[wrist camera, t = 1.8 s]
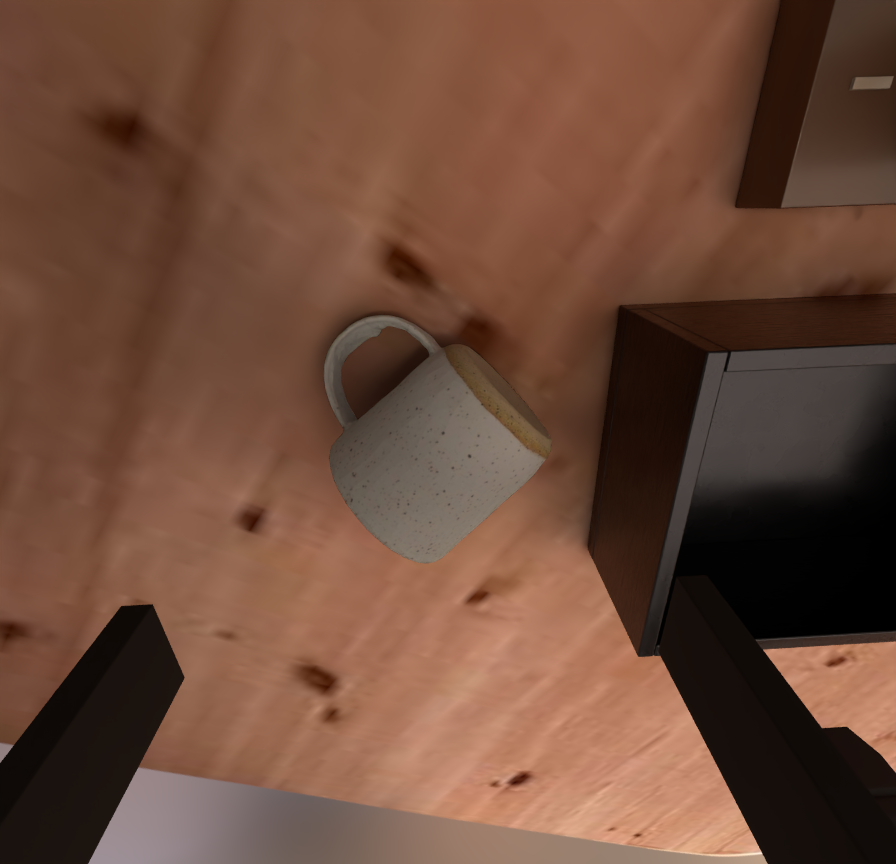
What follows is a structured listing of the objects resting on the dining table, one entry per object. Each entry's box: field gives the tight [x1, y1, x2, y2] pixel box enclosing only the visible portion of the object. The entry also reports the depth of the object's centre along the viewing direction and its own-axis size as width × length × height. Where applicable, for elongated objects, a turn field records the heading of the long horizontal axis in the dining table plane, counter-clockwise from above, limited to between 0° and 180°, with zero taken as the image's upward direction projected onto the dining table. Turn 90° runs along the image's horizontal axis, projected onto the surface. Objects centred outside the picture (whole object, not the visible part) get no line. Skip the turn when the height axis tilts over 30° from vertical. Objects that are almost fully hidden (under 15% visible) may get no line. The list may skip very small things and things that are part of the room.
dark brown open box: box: [588, 294, 896, 657], centre depth 23 cm, size 22×16×8 cm
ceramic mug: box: [324, 315, 551, 563], centre depth 21 cm, size 11×8×8 cm
